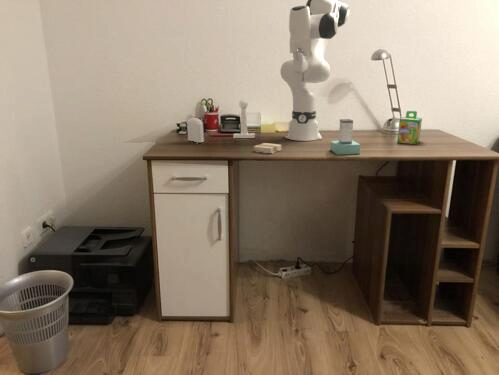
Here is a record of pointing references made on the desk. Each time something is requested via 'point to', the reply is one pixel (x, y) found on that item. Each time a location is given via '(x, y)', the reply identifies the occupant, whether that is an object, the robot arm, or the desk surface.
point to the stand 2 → (345, 148)
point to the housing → (345, 131)
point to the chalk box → (409, 129)
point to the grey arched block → (195, 130)
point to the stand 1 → (267, 148)
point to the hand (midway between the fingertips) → (301, 82)
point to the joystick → (244, 122)
